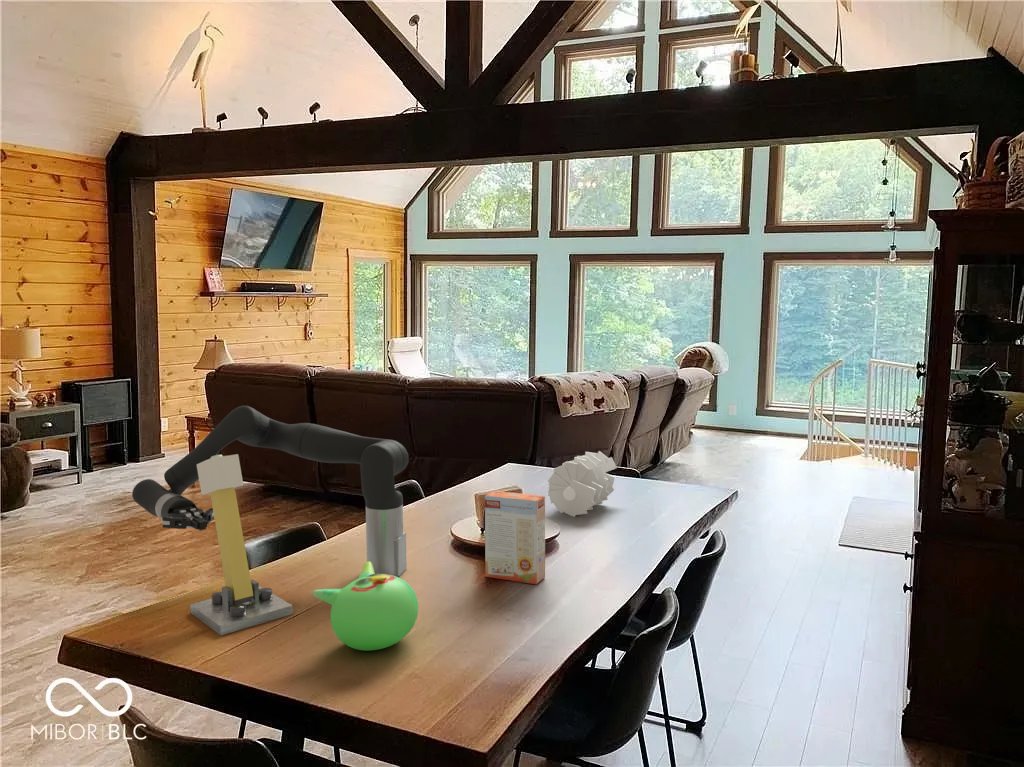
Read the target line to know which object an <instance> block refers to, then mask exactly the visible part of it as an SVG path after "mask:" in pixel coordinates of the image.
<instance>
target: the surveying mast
mask: <svg viewBox="0 0 1024 767" xmlns="http://www.w3.org/2000/svg"><path fill="white" fill-rule="evenodd" d="M197 470H198V476H199V480H198V482H199V489H200V494H201V496H204V495H210V500H211V504H212V505H211V506H212V507H211V508H213V512H214V523H215V529H216V535H217V542H218V548H219V554H220V559H221V565H222V566H221V567H222V570H223V577H224V581H225V586H227V587H229V588H230V589H232V599H233V605H234V604H243V603H246V602H250V601H252V596H253V591H252V585H251V580H252V579H251V574H250V569H249V562H248V557H247V550H246V546H245V540H244V534H243V533H244V532H243V529H242V528H243V527H242V521H241V516H240V510H239V504H238V499H237V492H236V488H239V487H242V486H244V481H243V475H242V468H241V463H240V456H239V454H238V453H236V454H230V455H223V454H218V455H216V456H212V457H211V458H210V459H208V460H206V461H203V462H201V463H199V464H197Z"/></svg>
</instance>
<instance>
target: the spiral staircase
mask: <svg viewBox="0 0 1024 767" xmlns="http://www.w3.org/2000/svg"><path fill="white" fill-rule="evenodd" d="M584 453H585V454H583V455H576V456H574V459H572V460H569V461H565V462H563V463H562V465H560V466H557V467H554V468H553V473H552V474H551V476H550V477H549V478H548V479H547V483H548V492H547V493H548V495H547V496H548V497H549V500H550V504H553V505H554V506H555V508H556V509H557V510H558V511H559V513H560V514H563V513H564V514H567V515H569V516H571V517H574V518H575V517H576V516H578V515H579V516H580V515H587V514H588V511H592V510H594V508H593V507H594V506H597V505H601V504H604V501H608V500H609V499H608V496H610V495H611V494H612V493H613V492H614V491H615V490H616V489H615V487H613V486H614V484H615V480H616V476H614V475H612V474H609V473H608V472H610V471H612V470H615V469H617V468H618V467H617V465H616V463H615V461H614V459H613V457H612V456H610V457H608V456H607V455H606V454H604V453H603V452H601V451H600V450H598V451H597V452H590V451H585V452H584Z"/></svg>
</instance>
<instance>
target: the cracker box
mask: <svg viewBox="0 0 1024 767" xmlns="http://www.w3.org/2000/svg"><path fill="white" fill-rule="evenodd" d="M484 543H485V544H484V546H485V547H484V551H485V556H484V558H485V564H484V565H485V567H484V568H485V569H484V570H485V572H484V573H485V577H487V578H492V579H493V578H494V579H498V580H504V581H505V580H506V581H512V582H518V583H525V584H530V585H531V584H532V585H538V583H540V582H541V581H542V580H544V579H545V578H546V496H545V495H537V494H527V493H519V492H509V491H499V490H494V491H492V492H490V493H487V494H486V495H485V496H484Z"/></svg>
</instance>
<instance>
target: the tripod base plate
mask: <svg viewBox="0 0 1024 767" xmlns="http://www.w3.org/2000/svg"><path fill="white" fill-rule="evenodd" d="M251 585H252V591H253V596H252V601H250V602H246V603H243V604H234V605H233V599H232V589H230V588H229V587H227V586H226V585H224V586H221V591H216V592H213V593H212V594H211V598H208V599H205V600H201V601H197V602H193V603H190V604H189V608H190V609H189V610H190V614H191V613H192V614H191V615H193V616H194V617H195V618H197V619H198V620H200V621H201V622H202V623H203V624H205V625H206V626H207V627H209V628H210V629H211V630H213V631H214V632H215V633H216V634H217V635H219V636H224V635H227V634H228V635H229V634H232V633H234V632H237V631H242V630H245V629H248V628H251V627H254V626H258V625H260V624H265V623H267V622H271V621H275V620H278V619H281V618H284V617H288V616H291V615H293V614H294V613H293V604H291V603H289V602H287V601H285V600H284V599H282V598H280V597H279V596H277V595H276V594H274V593H273V589H272V588H271V587H262V586H260V584H259V582H258V581H256V580H255V579H254V578H252V579H251Z"/></svg>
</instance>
